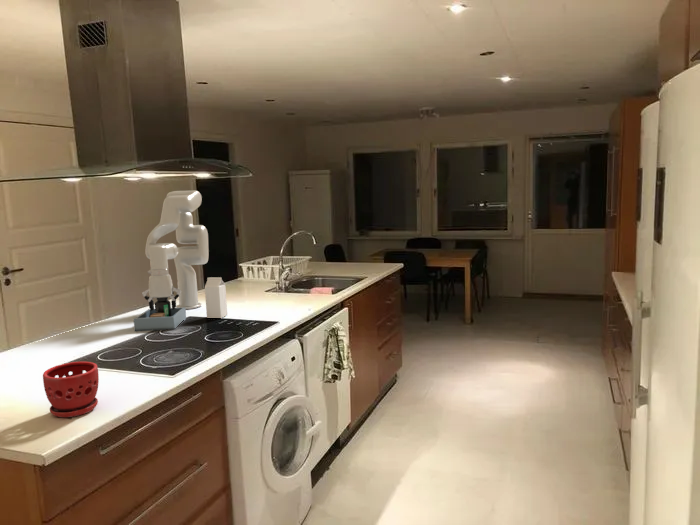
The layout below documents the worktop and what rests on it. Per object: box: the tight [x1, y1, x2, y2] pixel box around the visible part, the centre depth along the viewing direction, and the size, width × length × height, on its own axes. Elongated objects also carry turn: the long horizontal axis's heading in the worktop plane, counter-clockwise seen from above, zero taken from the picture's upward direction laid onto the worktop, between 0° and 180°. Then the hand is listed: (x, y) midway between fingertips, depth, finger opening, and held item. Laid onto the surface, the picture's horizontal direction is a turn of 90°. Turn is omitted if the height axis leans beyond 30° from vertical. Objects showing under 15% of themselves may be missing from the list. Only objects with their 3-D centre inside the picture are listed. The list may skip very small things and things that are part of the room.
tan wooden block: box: [150, 313, 165, 318], centre depth 238 cm, size 5×5×5 cm
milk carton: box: [204, 276, 228, 319], centre depth 252 cm, size 7×7×19 cm
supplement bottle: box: [154, 297, 172, 317], centre depth 246 cm, size 7×7×12 cm
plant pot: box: [42, 361, 100, 418], centre depth 144 cm, size 13×13×12 cm
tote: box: [133, 307, 187, 332], centre depth 242 cm, size 20×17×6 cm
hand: (163, 309), depth 246 cm, fingers open, 9 cm apart
